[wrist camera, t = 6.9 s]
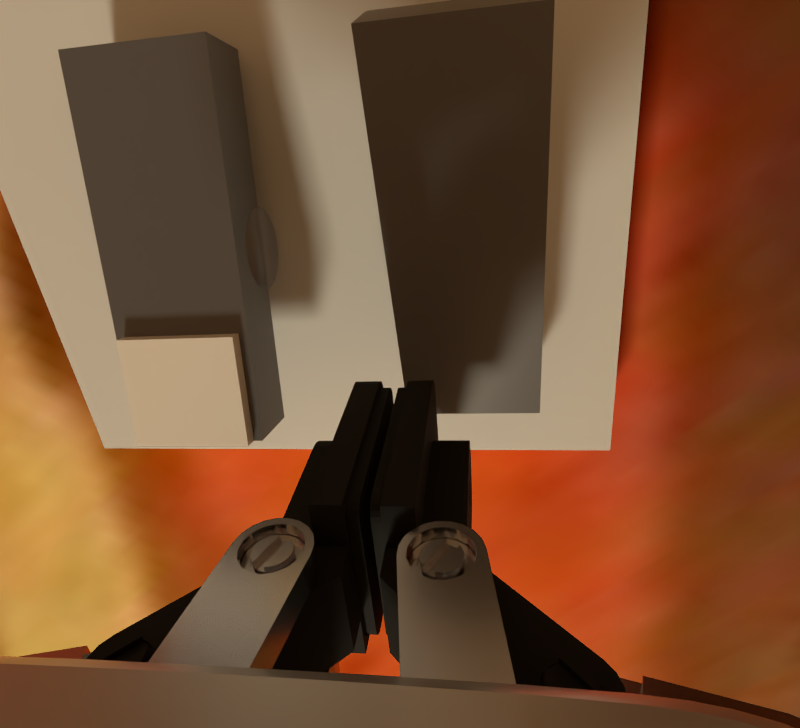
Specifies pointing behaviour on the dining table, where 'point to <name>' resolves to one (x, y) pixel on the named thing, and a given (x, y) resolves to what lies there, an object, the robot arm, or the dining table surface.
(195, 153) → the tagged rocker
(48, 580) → the dining table surface
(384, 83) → the plain rocker
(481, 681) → the robot arm
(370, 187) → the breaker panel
